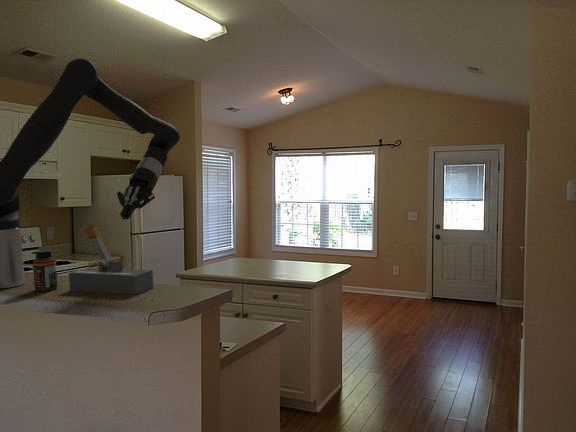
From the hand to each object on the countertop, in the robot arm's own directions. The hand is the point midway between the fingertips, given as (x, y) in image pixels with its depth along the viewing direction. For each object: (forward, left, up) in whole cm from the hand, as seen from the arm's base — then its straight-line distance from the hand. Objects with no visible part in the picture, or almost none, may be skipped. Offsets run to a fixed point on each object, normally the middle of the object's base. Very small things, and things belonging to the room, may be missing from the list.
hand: (124, 217), depth 142 cm
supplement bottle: (-19, -12, -20) cm, 30 cm away
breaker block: (0, -7, -20) cm, 21 cm away
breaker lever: (0, -7, -13) cm, 15 cm away
